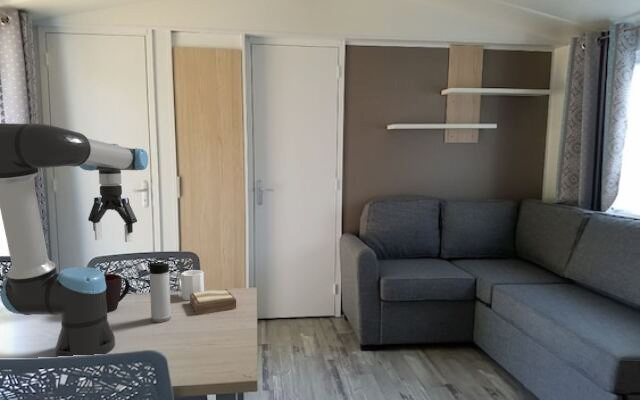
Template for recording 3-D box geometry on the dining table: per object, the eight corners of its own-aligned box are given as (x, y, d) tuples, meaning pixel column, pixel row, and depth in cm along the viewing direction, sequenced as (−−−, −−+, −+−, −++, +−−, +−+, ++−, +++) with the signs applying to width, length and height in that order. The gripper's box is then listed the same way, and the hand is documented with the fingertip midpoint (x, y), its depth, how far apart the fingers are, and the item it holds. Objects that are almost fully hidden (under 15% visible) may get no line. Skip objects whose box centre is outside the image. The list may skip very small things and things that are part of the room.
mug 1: (85, 311, 157) (83, 279, 156) (121, 300, 169) (119, 270, 167) (101, 317, 152) (99, 283, 150) (136, 305, 163) (135, 274, 162)
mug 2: (208, 295, 175) (207, 271, 174) (192, 302, 167) (191, 276, 166) (186, 291, 181) (186, 267, 180) (170, 296, 173) (169, 272, 172)
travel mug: (146, 321, 148) (144, 263, 146) (161, 314, 154) (159, 259, 152) (159, 324, 145) (157, 265, 143) (174, 317, 151) (172, 261, 149)
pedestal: (236, 308, 160) (236, 298, 160) (197, 314, 154) (196, 303, 154) (226, 297, 173) (226, 287, 172) (190, 302, 167) (190, 292, 166)
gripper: (145, 184, 165) (147, 240, 167) (91, 183, 171) (94, 237, 174) (131, 186, 157) (134, 244, 160) (75, 184, 164) (78, 240, 167)
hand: (113, 240), depth 167 cm, fingers open, 13 cm apart
